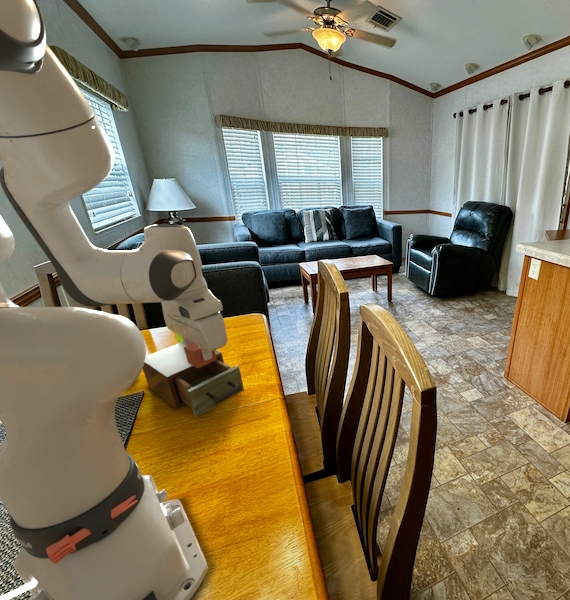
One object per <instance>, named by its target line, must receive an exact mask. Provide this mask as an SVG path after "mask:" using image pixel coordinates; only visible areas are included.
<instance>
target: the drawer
mask: <svg viewBox="0 0 570 600" xmlns="http://www.w3.org/2000/svg"><path fill="white" fill-rule="evenodd" d="M240 369H241V368H240V366H238V365H235V366H233V367H231V365H229V364H227V363H225V362H224V363H223V362H221V361H219V360H218V359H217V360H215V361H213V362H211V363H209V364H207V365H204V366H202V367H200V368H194V369H192V370H190V371H188V372H185V373H183V374H181V375H179V376H177V377H174V378H172V380H173V383H174V387H175V390H176V393H177V396H178V398H179V399H180V400H181V401H183V402H184V403H186V404H185V405H186V406H188V407H190V408H191V410H192V413H193V416H194V417H195V418H198V417H200V416H201V415H203V414H205V413H207V412H209V411H210V410H212V409H214V408H216V407H218V406H219V405H221V404H223V403H225V402H227V400H230V399H231V398H233V397H235V396H237V395H239V394H240V393H241V392H244V391H245V387H244V384H243V379H242V374H241V370H240Z"/></svg>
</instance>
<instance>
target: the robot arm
mask: <svg viewBox="0 0 570 600" xmlns="http://www.w3.org/2000/svg"><path fill="white" fill-rule="evenodd" d="M45 25H46V24H45V21H44V17H43V14H42V10H41V8H40V5H39V3H38V0H0V162H1V165H2V167H1V168H0V186H1V189H2V191H3V193H4V194H5V195H4V196H5V197H6V198H7V200H8V202H9V204H10V205H11V207H12V208H13V210H14V211H15V213H16V214H17V216H18V217H19V218H20V220H21V221H22V223H23V224H24V226H25V227H26V228H27V229H28V231H29V233H30V234H31V235H32V237H33V239H34V240H35V242H36V243H37V244H38V246H39V248H41V250H42V251H43V253H44V255H45V256H46V257H47V259H48V261H50V263H51V265H52V266H53V268H54V270H55V272H56V276H57V277H58V280H59V282H60V285H61V288H62V289H63V290H64V292H65V293H66V294H67V295H68V296H69V297H70V298H71V299H72V300H74V301H75V302H77V303H78V304H80V305H82V306H84V307H78V306H20V305H18V304H16V303H14V302H13V301H12V300H11V299H10V298H9V297H8V295H7V294H6V293H5V290H4V288H3V285H2V281H1V280H0V422H1V423H2V425H3V427H4V430H5V436H6V437H5V439H4V440H3V441H2V442H1V444H0V501H1V503H2V504H3V506H4V507H5V509H6V510H7V512H8V513H9V515H10V516H9V524H10V527H11V529H12V534H13V536H14V537H15V539H16V541H17V542H18V543H19V544H20V545H21V546H22V547H21V549H20V550H19V552H18V554H17V555H16V557H15V560H14V561H13V563H12V566H13V568H14V569H15V571H16V572H17V574H18V576H19V577H20V579H21V580H22V581H23V583H24V584H23V585H21V586H19V587H18V588H15V589H13V590H10V591H9V592H7V593H5V594H3V595H0V600H11V599H12V598H14V597H16V596H19V595H20V594H23V593H25V592H27V591H29V592H30V593H31V596H30V597H29V598H28V599H27V600H191V598H192V597H193V596H194V595H195V593H196V592H197V591H198V589H199V587H200V585H201V584H202V582H203V581H204V579H205V577H206V575H207V573H208V571H209V566H208V563H207V559H206V557H205V555H204V552H203V550H202V548H201V546H200V542H199V541H198V538H197V536H196V533H195V531H194V529H193V526H192V523H191V521H190V519H189V517H188V515H187V512H186V509H185V508H184V505H183V503H182V501H181V500H180V499H177V498H175V499H170V500H166V499H168V498H169V496H168V492H167V491H166V490H165V488H163V489H161V490H160V491H159V490H158V488H157V485H156V482H155V480H154V478H153V477H154V476H153V475H149V474H142V473H141V470H140V467H139V465H138V464H137V462H136V461H135V460H134V459H133V456H132V455H131V454H129V453H127V451H126V448H125V445H124V443H123V440H122V437H121V434H120V431H119V428H118V425H117V421H116V406H117V402H118V399H119V398H120V397H121V396H122V395H123V394H125V393H126V392H127V391H128V390H129V389H130V388H131V387H132V386H133V385H134V384H135V383H136V381H137V380H138V378H139V376H140V374H141V373H142V371H143V366H144V362H145V357H146V356H147V347H146V343H145V339H144V336H143V334H142V332H141V331H140V329H139V327H138V326H137V325H136V324H135V323H134V322H133V321H131V319H129V318H127V317H126V316H122V315H121V314H120V315H119V314H115V313H111V312H106V311H101V310H96V309H91V308H96V307H104V306H105V307H106V306H114V305H125V304H126V305H128V304H146V303H147V304H148V303H149V304H150V303H161V309H162V315H163V319H164V324H165V326H166V328H167V329H168V330H169V331H170V332H173V333H176V334H178V335H180V336H182V339H183V340H184V342H185V343H186V345H188V344H191V343H193V342H194V343H196V344H198V345H199V346H200V348H202V352H201V353H200V354H201V358H202V359H204V360H205V361H207V360H209V359H211V358H212V357H213V356H212V352H211V351H215V350H217V351H218V350H219V349H222V348H223V347H225V346H227V344H228V334H227V329H226V323H225V319H224V317H223V315H222V313H221V311H223V309H224V307H223V303H222V302H221V300H219V299H218V298H217V297H216V296H215V295H214V294H213V293H212V292H211V290H210V289H208V283H207V281H206V279H205V277H204V276H203V272H202V270H203V269H202V268H203V263H202V259H201V255H200V251H199V247H198V245H197V242H196V240H195V237H194V236H193V233H192V232H191V230H190V228H189V227H187V226H185V225H181V224H150V225H147V226H146V227H144V228H143V236H144V241H143V243H142V244H141V245H140V246H139V247H137V248H136V249H132V250H108V249H103V248H101V247H97V246H95V245H93V244H92V243H91V241H90V240H89V238H88V236H87V235H86V233H85V231H84V229H83V228H82V225H81V223H80V222H79V221H78V219H77V216H76V215H75V212H74V211H73V209H72V207H71V203H70V202H71V200H73V199H76V198H77V197H80V196H83V195H84V194H86V193H88V192H91V191H92V190H93V189H95V188H96V187H98V186H100V184H102V183H103V182H104V181H105V180H106V179H107V178H108V177H109V175H110V174H111V172H112V170H113V167H114V163H115V152H114V148H113V145H112V143H111V140H110V138H109V135H108V134H107V132H106V130H105V128H104V126H103V125H102V123H101V121H100V120H99V117H98V116H97V115H96V113H95V112H94V110H93V108H92V107H91V105H90V103H89V101H88V100H87V98H86V97H85V95H84V94H83V92H82V91H81V89H80V88H79V86H78V84H77V83H76V81H75V80H74V79H73V77H72V76H71V75H70V73H69V71H68V70H67V69H66V67H65V66H64V65H63V64H62V61H60V60H59V58H58V57H57V55H56V54H55V53H54V51H53V50H52V49H51V47H50V46H49V45H48V44H47V32H46V31H47V30H46V26H45ZM15 245H16V241H15V236H14V234H13V232H12V230H11V229H10V227H9V225H8V224H7V223H6V221H5V219H4V218H3V216H2V214H0V267H1V266H2V265H3V264H4V263H5V262H6V261H8V260H9V258H10V257H11V256H12V254H13V252H14V250H15ZM85 307H90V308H85ZM176 334H175V335H176ZM134 382H135V383H134ZM188 587H189V588H188Z"/></svg>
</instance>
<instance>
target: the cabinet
mask: <svg viewBox="0 0 570 600" xmlns="http://www.w3.org/2000/svg"><path fill="white" fill-rule="evenodd" d="M183 346H186V343H185V342H184V341H183V342H181V343H178V342H177V343H175V344H173V345H171V346H168V347H165V348H163V349H159V350H157V351H155V352H153V353H149V354H146V357H145V362H144V366H143V369H142V371H143V374H144V377H145V379H146V382H147V385H148V388H149V389H151V390H152V391H153V392H154V393H156V394H157V395H158V396H160V397H161V398H162V399H164V400H165V401H166V402H168V403H169V404H170V405H171V406H173V407H174V408H175V409H179V408H180V407H182V406H184V405H187V404H186V403H184V402H183V401H181V400H180V399H179V398H178V396H177V393H176V390H175V387H174V383H173V380H172V378H174V377H177V376H179V375H181V374H183V373H185V372H188V371H190V370H192V369H194V368H196V367H194V366H193V365H191V364H189V363H188V361H187V357H186V354H185V350H184V347H183ZM215 355H216V359H218V360H219V361H221V362H223V363H225V361H224V356H223V353H222V352H221V351H218V349H217V350H215Z"/></svg>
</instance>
